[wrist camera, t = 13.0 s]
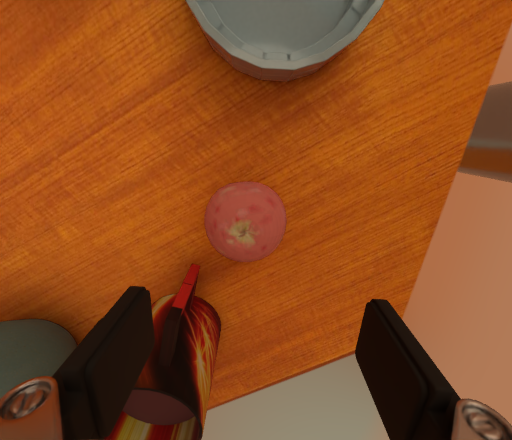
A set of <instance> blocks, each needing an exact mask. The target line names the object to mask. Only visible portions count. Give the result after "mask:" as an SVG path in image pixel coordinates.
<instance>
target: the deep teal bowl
mask: <svg viewBox="0 0 512 440" xmlns="http://www.w3.org/2000/svg"><path fill="white" fill-rule="evenodd" d="M76 347H77V344H76V342H75V340H74V338H73V337H72V336H71V334H70V333H69V332H68V331H67V330H65V329H64V328H63V327H61V326H59V325H57V324H55V323H53V322H50V321H46V320H42V319H22V320H11V321H3V322H0V399H1V398H2V397H3V396H4V395H5V394H6V393H7V392H8V391H10V390H11V389H13V388H14V387H15V386H17V385H19V384H21V383H22V382H24V381H26V380H29V379H32V378H35V377H40V376H50V377H52V376H53V374H54V373H55V372H56V371H57V370H58V369H59V367H60V366H61V365H62V364H63V363H64V362H65V360H66V359H67V358H68V357H69V356H70V354H71V353H72V352H73V351H74V350H75V349H76Z"/></svg>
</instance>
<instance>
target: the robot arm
mask: <svg viewBox="0 0 512 440" xmlns="http://www.w3.org/2000/svg"><path fill="white" fill-rule="evenodd" d="M154 344H155V335H154V326H153V317H152V308H151V299H150V292H149V291H148V290H146V288H145V287H139V286H130V287H129V288H128V289H127V290H126V291H125V293H124V294H123V295H122V296H121V297H120V299H119V300H118V301H117V302H116V303H115V304H114V306H113V307H112V308H111V309H110V310H109V312H108V313H107V314H106V315H105V316H104V318H102V319H101V320H100V321H99V322H98V323H97V324H96V325H95V326H94V327H93V329H92V330H91V331H90V332H89V333H88V334H87V336H86V337H85V338H84V339H83V340H82V342H81V343H80V344H79V345H78V346H77V347H76V349H75V350H74V351H73V352H72V353H71V354H70V356H69V357H68V358H67V359H66V360H65V362H64V363H63V364H62V365H61V366H60V367H59V369H58V370H57V371H56V372H55V373H54V374H53V376H52V377H50V376H40V377H35V378H32V379H29V380H26V381H24V382H22V383H21V384H19V385H17V386H15V387H14V388H13V389H11V390H10V391H8V392H7V393H6V394H5V395H4V396H3V397H2V398H1V399H0V440H103V439H104V437H108V436H109V435H110V434H111V432H112V430H113V428H114V426H115V424H116V422H117V420H118V418H119V416H120V414H121V412H122V410H123V408H124V406H125V404H126V402H127V400H128V398H129V396H130V394H131V392H132V390H133V388H134V386H135V384H136V382H137V380H138V378H139V376H140V374H141V372H142V370H143V368H144V366H145V364H146V362H147V360H148V358H149V356H150V354H151V352H152V350H153V347H154ZM355 355H356V359H357V362H358V364H359V366H360V369H361V371H362V374H363V376H364V379H365V381H366V383H367V386H368V388H369V391H370V393H371V395H372V398H373V400H374V402H375V405H376V407H377V410H378V412H379V415H380V417H381V419H382V422H383V424H384V427H385V428H386V431H387V433H388V436H389V439H390V440H512V426H511V424H510V423H509V422H508V421H507V420H506V419H505V418H504V417H503V416H501V415H500V414H499V413H498V412H497V411H495V410H494V409H492V408H490V407H489V406H487V405H486V404H483V403H481V402H479V401H476V400H472V399H460V397H459V396H458V395H457V393H456V392H455V390H454V389H453V388H452V386H451V385H450V384H449V382H448V381H447V380H446V379H445V377H444V376H443V374H442V373H441V372H440V370H439V369H438V368H437V366H436V365H435V364H434V362H433V361H432V359H431V358H430V357H429V355H428V354H427V353H426V351H425V350H424V349H423V347H422V346H421V345H420V343H419V342H418V341H417V339H416V338H415V337H414V335H413V334H412V333H411V331H410V330H409V329H408V327H407V326H406V325H405V323H404V322H403V320H402V319H401V318H400V316H399V315H398V314H397V312H396V311H395V310H394V308H393V307H392V306H391V304H390V303H389V302H388V301H387V300H382V299H372V300H371V301H370V302H368V303H367V304H366V308H365V312H364V316H363V320H362V324H361V329H360V333H359V337H358V341H357V345H356V350H355Z"/></svg>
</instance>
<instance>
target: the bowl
mask: <svg viewBox="0 0 512 440" xmlns="http://www.w3.org/2000/svg"><path fill="white" fill-rule="evenodd" d="M185 1H186V3H187V5H188V7H189V9H190V11H191V12H192V14H193V16H194V18H195V20H196V22H197V24H198V25H199V27H200V28H201V30H202V32H203V33H204V35H205V37H206V38H207V40H208V42H209V43H210V45H211V47H212V48H213V49H214V50H215V51H216V52H217V53H218V54H219V55H220V56H221V57H222V58H223V59H225V60H226V61H227V62H228V63H229V64H230V65H231V66H232V67H233V68H235V69H236V70H238V71H241V72H243V73H245V74H248V75H250V76H252V77H255V78H257V79H259V80H271V81H290V80H293V79H297V78H300V77H303V76H307V75H310V74H313V73H315V72H316V71H317V70H319V69H320V68H322V67H323V66H324V65H326V64H327V63H329V62H330V61H332V60H333V59H334V58H336V57H337V56H338V55H339V54H340V53H341V52H342V51H344V50H345V49H346V48H347V47H348V46H349V45H350V44H351V43H352V42H353V41H355V40H356V39H357V37H358V36H359V35H360V34H361V32H362V31H363V30H364V29H365V27H366V26H367V25H368V24H369V22H370V21H371V20H372V19H373V17H374V16H375V15H376V13H377V12H378V11H379V10H380V8H381V7H382V5H383V2H384V0H185Z"/></svg>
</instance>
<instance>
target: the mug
mask: <svg viewBox="0 0 512 440" xmlns="http://www.w3.org/2000/svg"><path fill="white" fill-rule="evenodd" d="M199 269H200V266H199V265H195V264H192V265H191V267H190V269H189V271H188V273H187V275H186V277H185V279H184V281H183V284H182V286H181V288H180V290H179V292H178V294H171V295H168V296H165V297H163V298H160V299H159V300H157V301H156V302H155V303H154V304H153V305H152V306H151V308H152V317H153V326H154V335H155V344H154V347H153V350H152V352H151V354H150V356H149V358H148V360H147V362H146V364H145V366H144V368H143V370H142V372H141V374H140V376H139V378H138V380H137V382H136V384H135V386H134V388H133V390H132V392H131V394H130V396H129V398H128V400H127V402H126V404H125V406H124V408H123V410H122V412H121V414H120V416H119V418H118V420H117V422H116V424H115V426H114V428H113V430H112V432H111V434H110V435H109V436H108V437H104V439H103V440H201V438H202V434H203V429H204V424H205V418H206V412H207V406H208V401H209V395H210V389H211V383H212V378H213V372H214V366H215V360H216V354H217V349H218V343H219V337H220V331H221V322H220V318H219V316H218V314H217V312H216V311H215V309H214V308H213V307H212V306H211V305H210V304H209V303H207V302H206V301H204V300H203V299H201V298H198V297H196V296H194V294H195V288H196V283H197V278H198V273H199Z"/></svg>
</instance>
